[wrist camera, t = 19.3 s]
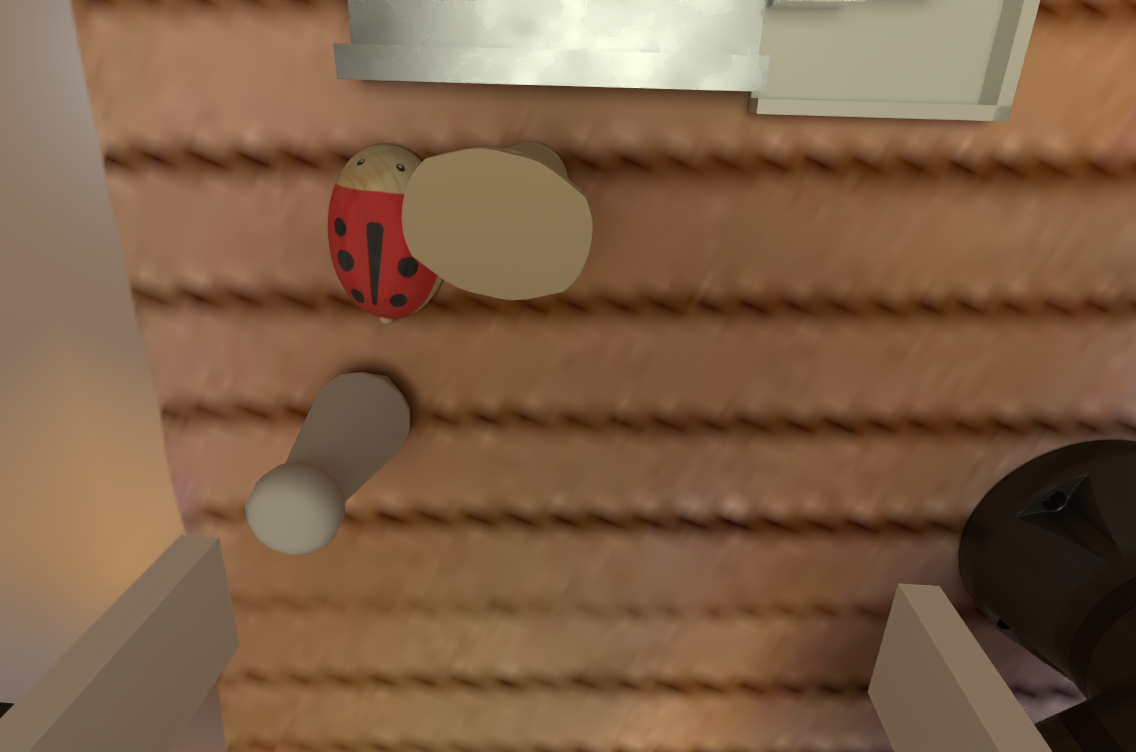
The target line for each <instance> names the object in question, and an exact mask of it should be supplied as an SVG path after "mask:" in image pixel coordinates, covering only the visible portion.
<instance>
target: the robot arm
mask: <svg viewBox="0 0 1136 752" xmlns="http://www.w3.org/2000/svg"><path fill="white" fill-rule="evenodd" d="M959 565H960V572H961V577H962V580H963V583H964V585H965V587H966V589H967V591H968V593H969V594H970V596H971V597H972V598H973V600H974V601H975V602H976V604H977V605H978V607H979V608H980V609H981V611H982V612H983V613H984V615H985V616H986V617H987V619H988V620H989V621H990V622H991V623H992V624H993V625H994V626H995V627H996V628H997V629H998V630H999V631H1000V632H1002V633H1003V634H1004V635H1006V636H1007V637H1009V638H1010V639H1012V640H1013V641H1015V642H1016V643H1018V644H1020V645H1022V646H1023V647H1024V648H1025V649H1026V650H1028V651H1029V652H1030V653H1032V654H1033V655H1035V656H1036V657H1037V658H1039V659H1040V660H1042V661H1043V662H1045V663H1046V664H1048V665H1049V666H1050V667H1052V668H1053V669H1055V670H1056V671H1058V672H1059V673H1061V674H1062V675H1064V676H1065V677H1067V678H1068V679H1069V680H1071V681H1072V682H1074V684H1075V685H1076V686H1077V687H1078V688H1079V690H1080V691H1081V692H1082V693H1083V694H1084V696H1085V697H1086V698H1087V699H1088V700H1085V701H1084V702H1082V703H1080V704H1077V705H1075V706H1073V707H1071V708H1069V709H1067V710H1064V711H1062V712H1060V713H1058V714H1055V715H1053V716H1051V717H1049V718H1046V719H1044V720H1042V721H1040V722H1038V723H1035V724H1033V723H1032V721H1031V720H1030V718H1029V717H1028V715H1027V714H1026V712H1025V711H1024V709H1023V708H1022V706H1021V705H1020V704H1019V702H1018V701H1017V699H1016V698H1015V696H1014V695H1013V693H1012V692H1011V690H1010V689H1009V687H1008V686H1007V684H1006V683H1005V682H1004V680H1003V679H1002V677H1001V676H1000V674H999V673H998V671H997V670H996V668H995V667H994V665H993V664H992V662H991V661H990V660H989V658H988V657H987V655H986V654H985V652H984V651H983V649H982V648H981V646H980V645H979V643H978V642H977V640H976V639H975V638H974V636H973V635H972V633H971V632H970V630H969V629H968V627H967V626H966V624H965V623H964V621H963V620H962V618H961V617H960V616H959V614H958V613H957V611H956V610H955V608H954V607H953V605H952V604H951V602H950V601H949V599H948V598H947V596H946V595H945V593H944V592H943V591H942V589H941V588H940V586H931V585H916V584H901V583H898V586H897V589H896V593H895V596H894V600H893V604H892V607H891V611H890V614H889V618H888V621H887V625H886V628H885V632H884V635H883V639H882V643H881V646H880V650H879V653H878V657H877V660H876V664H875V667H874V671H873V674H872V678H871V682H870V685H869V689H868V694H869V696H870V698H871V700H872V703H873V705H874V707H875V710H876V712H877V714H878V716H879V719H880V721H881V723H882V726H883V728H884V730H885V732H886V735H887V737H888V739H889V742H890V744H891V746H892V748H893V751H894V752H1136V442H1131V441H1099V442H1090V443H1085V444H1080V445H1075V446H1071V447H1068V448H1064V449H1061V450H1058V451H1055V452H1053V453H1050V454H1048V455H1045V456H1043V457H1041V458H1039V459H1037V460H1035V461H1033V462H1031V463H1029V464H1027V465H1026V466H1024V467H1022V468H1021V469H1019V470H1018V471H1016V472H1015V473H1013V474H1012V475H1010V476H1009V477H1008V478H1006V479H1005V480H1004V481H1003V482H1001V483H1000V484H999V485H998V486H997V487H996V488H995V489H994V490H993V491H992V492H991V493H990V494H989V495H988V496H987V497H986V498H985V499H984V501H983V502H982V503H981V504H980V506H979V507H978V508H977V510H976V511H975V513H974V514H973V516H972V518H971V519H970V521H969V523H968V525H967V528H966V530H965V533H964V535H963V538H962V542H961V547H960V555H959ZM239 646H240V644H239V639H238V634H237V628H236V623H235V618H234V613H233V608H232V602H231V597H230V592H229V587H228V582H227V576H226V571H225V566H224V561H223V556H222V550H221V545H220V540H219V537H204V536H189V535H181V536H180V537H178V538H177V539H176V540H175V541H174V542H173V544H172V545H171V546H170V547H169V548H168V549H167V550H166V551H165V552H164V553H163V554H162V555H161V556H160V557H159V558H158V559H157V560H156V561H155V562H154V563H153V564H152V565H151V566H150V567H149V568H148V569H147V570H146V571H145V572H144V573H143V574H142V575H141V576H140V577H139V578H138V579H137V580H136V581H135V582H134V583H133V584H132V585H131V586H130V587H129V588H128V589H127V590H126V591H125V592H124V594H122V596H120V597H119V598H118V600H117V601H116V602H115V603H113V605H112V606H111V607H110V608H109V609H108V610H107V611H106V612H105V613H104V614H103V615H102V616H101V617H100V618H99V619H98V620H97V621H96V622H95V623H94V624H93V625H92V626H91V627H90V628H89V629H88V630H87V631H86V632H85V633H84V634H83V635H82V636H81V637H80V638H79V639H78V640H77V641H76V642H75V643H74V644H73V646H71V647H70V648H69V649H68V650H67V651H66V652H65V653H64V654H63V655H62V656H61V657H60V658H59V660H58V661H57V662H55V664H54V665H53V666H52V667H51V668H50V669H49V670H48V671H47V672H46V673H45V674H44V675H43V676H42V677H41V678H40V679H39V680H38V681H37V682H36V683H35V684H34V685H33V686H32V687H31V688H30V689H29V690H28V691H27V692H26V693H25V694H24V695H23V696H22V697H21V698H20V699H19V700H18V701H17V702H16V703H15V704H12V703H0V752H168V751H169V750H170V748H171V746H172V745H173V744H174V742H175V741H176V739H177V738H178V736H179V735H180V733H181V732H182V730H183V729H184V727H185V726H186V725H187V723H188V722H189V720H190V719H191V717H192V715H193V714H194V712H195V711H196V710H197V708H198V707H199V705H200V704H201V702H202V701H203V699H204V698H205V696H206V695H207V693H208V692H209V690H210V689H211V688H212V686H213V685H214V683H215V682H216V680H217V679H218V677H219V676H220V674H221V673H222V671H223V670H224V668H225V667H226V665H227V664H228V662H229V661H230V659H231V658H232V656H233V655H234V654H235V652H236V651H237V649H238V648H239Z"/></svg>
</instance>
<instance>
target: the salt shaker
mask: <svg viewBox="0 0 1136 752" xmlns="http://www.w3.org/2000/svg"><path fill="white" fill-rule="evenodd" d="M409 430H410V409H409V406H408V403H407V400H406V398H405V397H404V395H403V394H402V393H401V392H400V390H399V389H398V388H397V387H396V386H395V384H394V383H393V382H392V381H391V379H390V378H389V377H388V376H387V375H378V374H370V373H366V372H355V373H344V374H340V375H339V376H337V377H336V378H334V379H333V380H331V381H330V382H328V383H327V384H325V385H324V386H322V387H321V389H320V391H319V393H318V395H317V397H316V399H315V401H314V403H313V405H312V407H311V409H310V411H309V413H308V415H307V418H306V420H305V422H304V424H303V426H302V428H301V431H300V433H299V435H298V437H297V439H296V441H295V444H294V446H293V448H292V450H291V452H290V454H289V457H288V459H287V461H286V463H285V464H282V465H279V466H277V467H276V468H274V469H273V470H271V471H270V472H268V473H267V474H265V475H264V476H263V477H262V478H261V479H260V480H259V481H258V482H257V483H256V485H255V487H254V489H253V491H252V493H251V495H250V497H249V499H248V501H247V503H246V505H245V509H246V516H247V523H248V524H249V526H250V527H251V529H252V531H253V532H254V534H255V535H256V537H257V538H258V539H259V540H260V541H261V542H263V543H264V544H266V545H267V546H268V547H270V548H271V549H273V550H276V551H280V552H283V553H287V554H290V555H299V554H309V553H313V552H315V551H317V550H319V549H320V548H322V547H324V546H326V545H327V544H328V543H329V542H330V541H331V540H332V539H333V538H334V536H335V534H336V532H337V530H338V529H339V527H340V525H341V523H342V521H343V519H344V517H345V502H346V501H347V500H348V499H349V498H350V497H351V496H352V495H353V494H354V493H355V492H356V491H357V490H358V489H359V488H360V487H361V486H362V485H363V484H364V483H366V482H367V481H368V480H369V479H370V478H371V477H372V476H373V475H374V474H375V473H376V472H377V471H378V470H379V469H380V468H381V467H382V466H383V465H384V464H385V463H386V462H388V461H389V460H390V459H391V458H392V457H393V456H394V455H395V454H396V453H397V452H398V451H399V450H400V449H401V447H402V445H403V443H404V441H405V439H406V438H407V436H408V434H409Z"/></svg>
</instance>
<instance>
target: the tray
mask: <svg viewBox="0 0 1136 752" xmlns="http://www.w3.org/2000/svg"><path fill="white" fill-rule="evenodd" d="M1039 3H1040V0H867V1H865V2H861V3H858V4H855V5H852V6H849V7H846V8H842V9H772V8H766V4H767V0H766V1H765V9H764V17H763V25H762V33H761V41H760V49H759V55H761V56H770V63H769V71H768V78H767V86H766V92H759V91H750V94H749V102H748V110H747V112H749V113H755V114H778V115H811V116H844V117H877V118H910V119H943V120H976V121H1008V118H1009V114H1010V110H1011V107H1012V103H1013V99H1014V96H1015V92H1016V88H1017V84H1018V81H1019V77H1020V73H1021V70H1022V66H1023V62H1024V58H1025V55H1026V51H1027V47H1028V44H1029V40H1030V36H1031V33H1032V29H1033V25H1034V21H1035V18H1036V14H1037V10H1038V7H1039Z"/></svg>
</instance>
